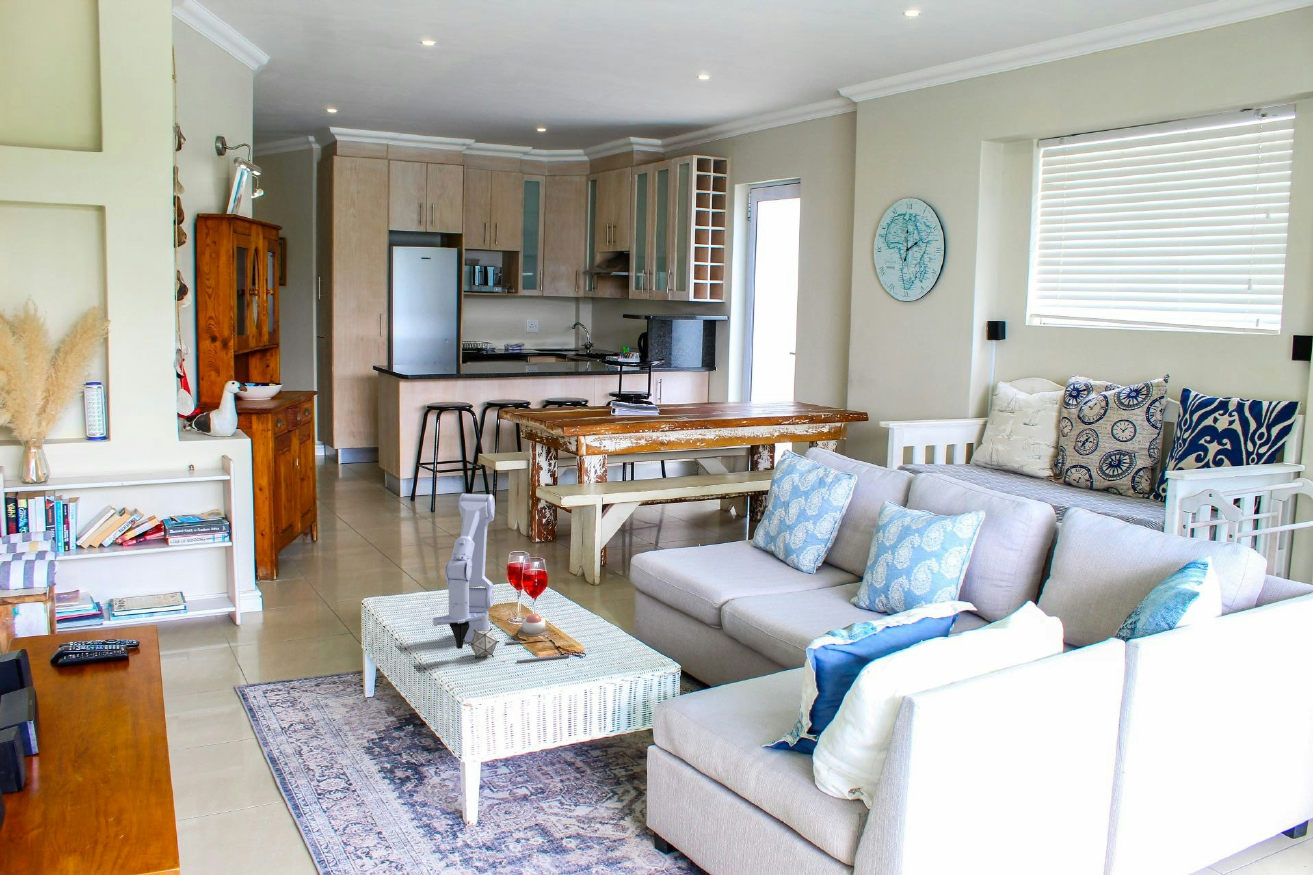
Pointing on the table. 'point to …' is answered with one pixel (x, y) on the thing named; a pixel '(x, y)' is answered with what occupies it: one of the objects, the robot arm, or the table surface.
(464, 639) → the robot arm
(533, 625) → the dome
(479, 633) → the game die
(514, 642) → the frame
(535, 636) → the dome base
